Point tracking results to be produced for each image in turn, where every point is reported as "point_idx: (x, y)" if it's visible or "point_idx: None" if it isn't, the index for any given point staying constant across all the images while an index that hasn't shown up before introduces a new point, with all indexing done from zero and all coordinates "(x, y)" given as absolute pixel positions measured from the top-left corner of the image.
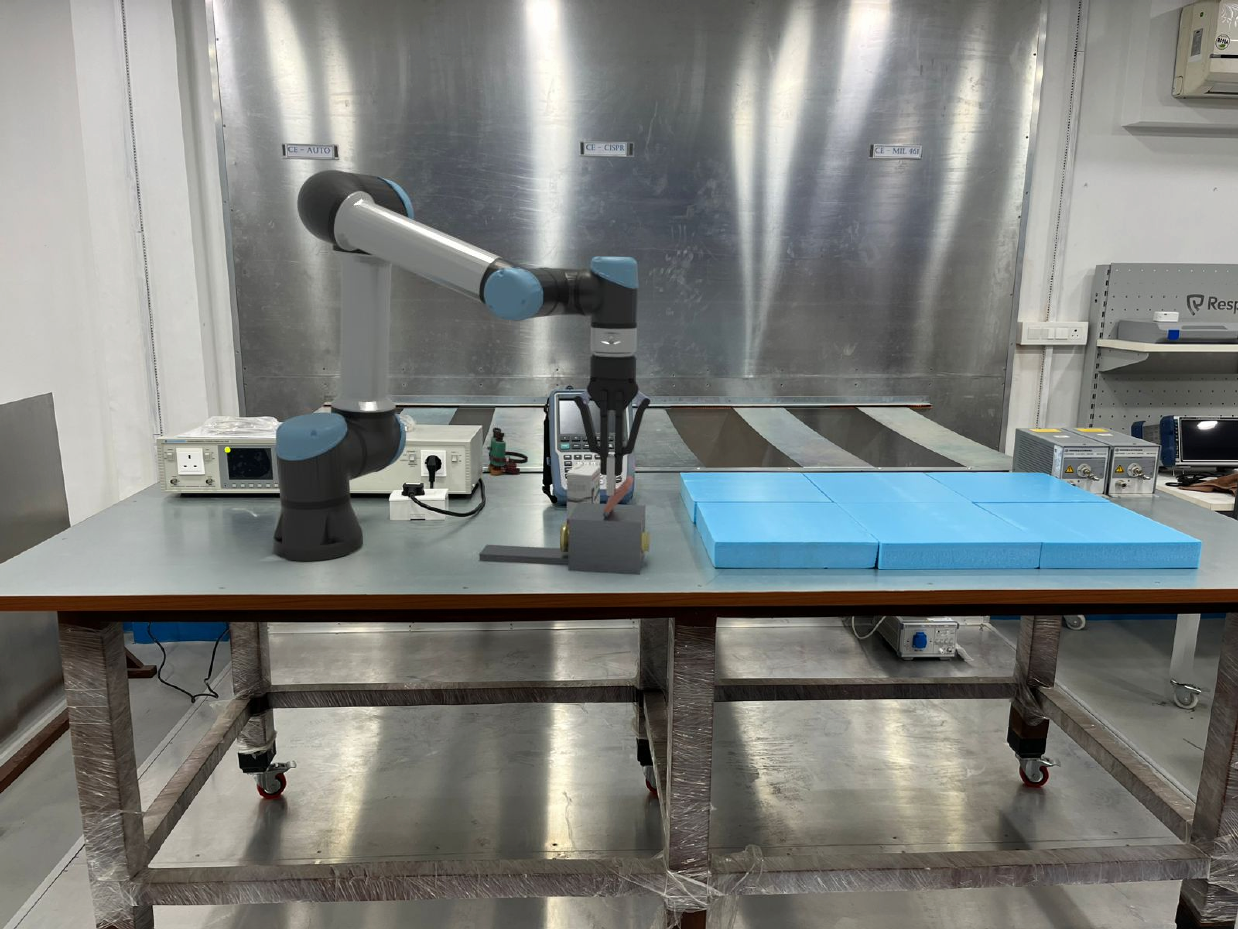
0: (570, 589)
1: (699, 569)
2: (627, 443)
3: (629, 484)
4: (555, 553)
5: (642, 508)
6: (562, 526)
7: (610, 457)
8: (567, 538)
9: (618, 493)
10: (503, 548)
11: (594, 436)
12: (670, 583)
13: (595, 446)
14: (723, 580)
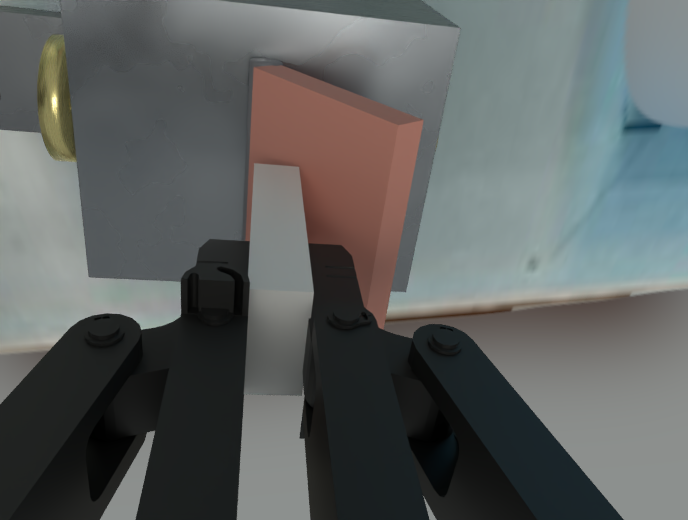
0: (172, 314)
1: (570, 141)
2: (420, 484)
3: (384, 281)
4: None
5: (437, 87)
6: (46, 135)
7: (269, 386)
8: None
9: None
10: None
11: (89, 496)
12: (455, 255)
13: (131, 457)
14: (611, 224)
